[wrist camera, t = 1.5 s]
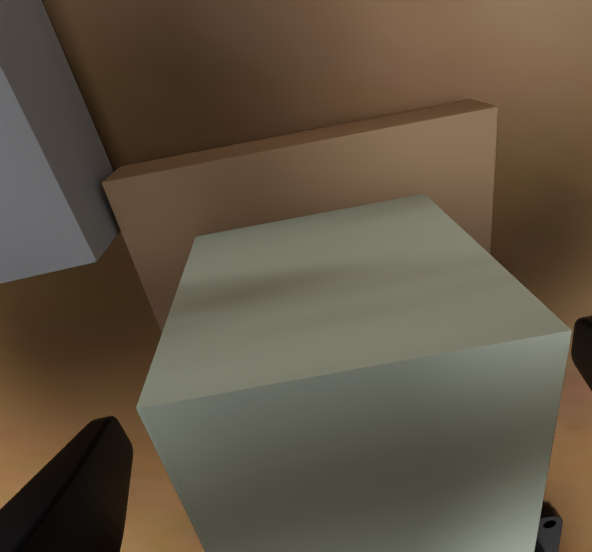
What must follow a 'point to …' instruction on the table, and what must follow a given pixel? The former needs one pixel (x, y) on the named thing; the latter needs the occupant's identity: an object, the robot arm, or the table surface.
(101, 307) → the table surface
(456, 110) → the cube on wooden base
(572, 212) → the table surface
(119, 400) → the table surface
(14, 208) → the dock
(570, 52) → the table surface
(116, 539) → the robot arm
